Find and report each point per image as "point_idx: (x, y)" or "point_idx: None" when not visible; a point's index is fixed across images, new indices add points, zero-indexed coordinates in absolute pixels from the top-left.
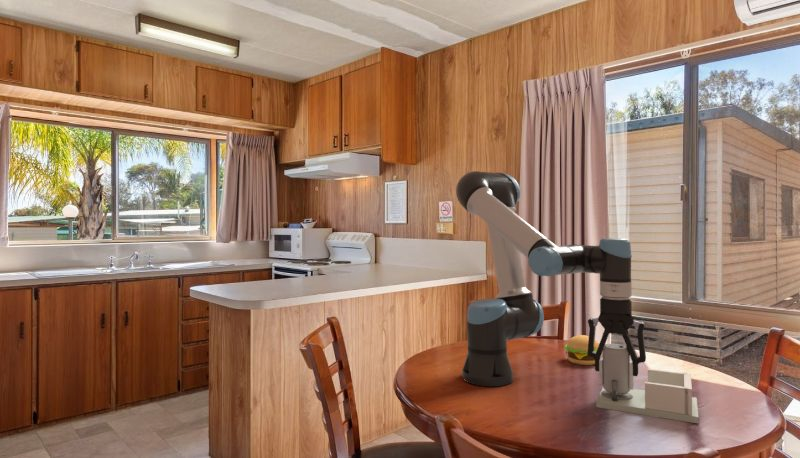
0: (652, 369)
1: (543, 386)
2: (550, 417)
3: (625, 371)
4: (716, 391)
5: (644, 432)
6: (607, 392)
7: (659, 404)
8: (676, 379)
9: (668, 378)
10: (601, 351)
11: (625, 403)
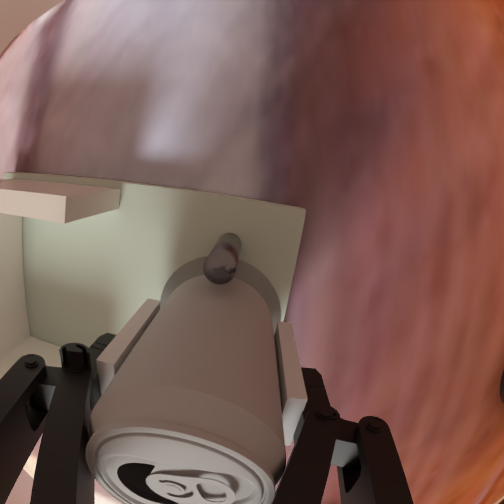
0: None
1: (447, 361)
2: (440, 73)
3: (149, 328)
4: None
5: (156, 28)
6: None
7: (68, 185)
8: None
9: None
10: (298, 447)
11: (188, 220)
